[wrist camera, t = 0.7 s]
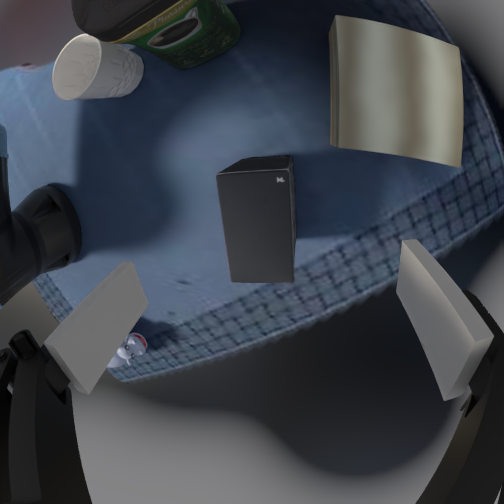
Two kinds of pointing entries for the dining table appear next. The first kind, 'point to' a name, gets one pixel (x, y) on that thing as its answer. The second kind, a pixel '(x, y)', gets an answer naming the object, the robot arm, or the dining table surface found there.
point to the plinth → (395, 91)
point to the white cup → (95, 70)
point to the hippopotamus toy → (129, 350)
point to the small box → (259, 219)
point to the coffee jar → (162, 27)
